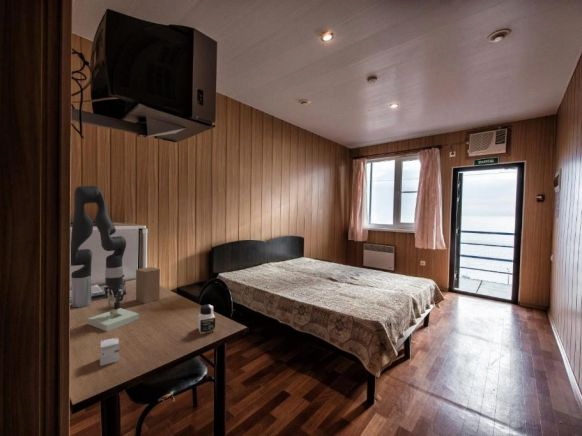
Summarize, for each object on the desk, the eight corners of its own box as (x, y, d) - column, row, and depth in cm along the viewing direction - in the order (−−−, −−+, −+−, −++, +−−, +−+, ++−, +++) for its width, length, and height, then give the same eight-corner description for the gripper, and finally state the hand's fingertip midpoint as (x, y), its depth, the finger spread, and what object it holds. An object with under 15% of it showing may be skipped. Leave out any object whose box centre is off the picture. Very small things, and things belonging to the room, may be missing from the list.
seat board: (88, 324, 135) (88, 318, 134) (120, 313, 149) (120, 307, 149) (106, 331, 128) (106, 325, 127) (138, 319, 142) (138, 313, 142)
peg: (107, 313, 137) (107, 294, 137) (115, 311, 141) (115, 292, 141) (112, 315, 135) (112, 296, 135) (120, 312, 139) (120, 293, 139)
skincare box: (100, 366, 101) (100, 347, 100) (100, 358, 106) (100, 340, 105) (119, 361, 104) (119, 342, 104) (118, 354, 109) (118, 336, 109)
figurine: (123, 290, 187) (123, 269, 186) (126, 295, 178) (126, 272, 178) (107, 293, 181) (107, 271, 180) (110, 297, 172) (110, 274, 172)
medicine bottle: (200, 334, 128) (200, 309, 128) (197, 327, 134) (198, 304, 134) (215, 331, 131) (215, 307, 131) (212, 325, 138) (212, 302, 137)
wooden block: (159, 299, 172) (160, 268, 171) (144, 304, 164) (144, 271, 163) (151, 296, 177) (151, 266, 176) (135, 300, 169) (135, 269, 168)
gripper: (98, 275, 137) (98, 307, 138) (115, 279, 131) (114, 313, 131) (113, 272, 144) (113, 303, 144) (130, 275, 137) (129, 308, 138)
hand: (114, 307), depth 138 cm, fingers closed on peg, 4 cm apart
